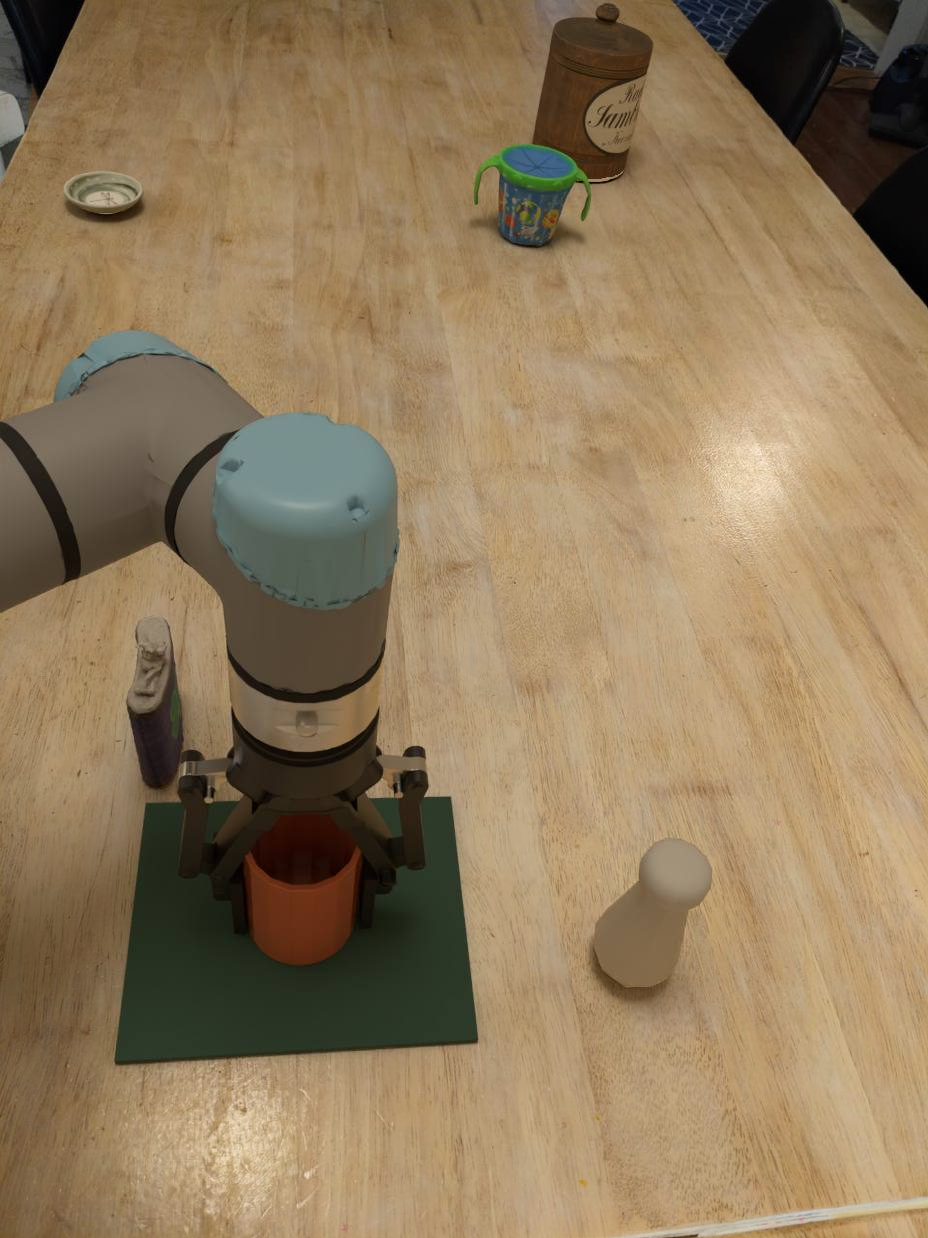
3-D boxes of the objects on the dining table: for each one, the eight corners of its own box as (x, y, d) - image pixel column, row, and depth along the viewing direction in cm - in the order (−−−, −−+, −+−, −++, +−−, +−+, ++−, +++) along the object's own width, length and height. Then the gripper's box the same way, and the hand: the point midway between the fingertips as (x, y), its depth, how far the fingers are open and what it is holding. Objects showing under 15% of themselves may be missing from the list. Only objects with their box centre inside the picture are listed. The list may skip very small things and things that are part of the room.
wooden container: (598, 193, 152) (634, 30, 136) (513, 160, 156) (538, -1, 140) (639, 163, 161) (678, 8, 145) (557, 133, 166) (586, -21, 150)
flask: (148, 690, 80) (133, 596, 72) (186, 690, 81) (176, 596, 73) (138, 791, 74) (121, 699, 66) (180, 789, 75) (168, 698, 67)
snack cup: (583, 228, 144) (599, 155, 136) (578, 263, 136) (594, 188, 129) (474, 207, 144) (484, 133, 136) (463, 241, 137) (473, 165, 129)
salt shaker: (568, 950, 70) (612, 852, 60) (625, 904, 73) (676, 804, 63) (630, 1018, 67) (685, 927, 58) (686, 967, 70) (748, 873, 61)
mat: (115, 1064, 61) (114, 1061, 61) (146, 806, 73) (145, 802, 73) (477, 1042, 65) (478, 1039, 64) (450, 799, 77) (451, 796, 76)
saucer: (51, 198, 131) (48, 179, 129) (121, 182, 136) (118, 164, 134) (89, 230, 127) (86, 211, 125) (159, 213, 132) (157, 195, 130)
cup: (245, 968, 66) (239, 893, 58) (249, 867, 70) (244, 786, 63) (357, 963, 67) (366, 888, 60) (354, 864, 72) (361, 784, 64)
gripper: (85, 764, 48) (139, 974, 64) (513, 757, 51) (459, 958, 68) (106, 643, 53) (151, 867, 69) (494, 644, 56) (449, 857, 73)
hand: (303, 912), depth 68 cm, fingers open, 7 cm apart
